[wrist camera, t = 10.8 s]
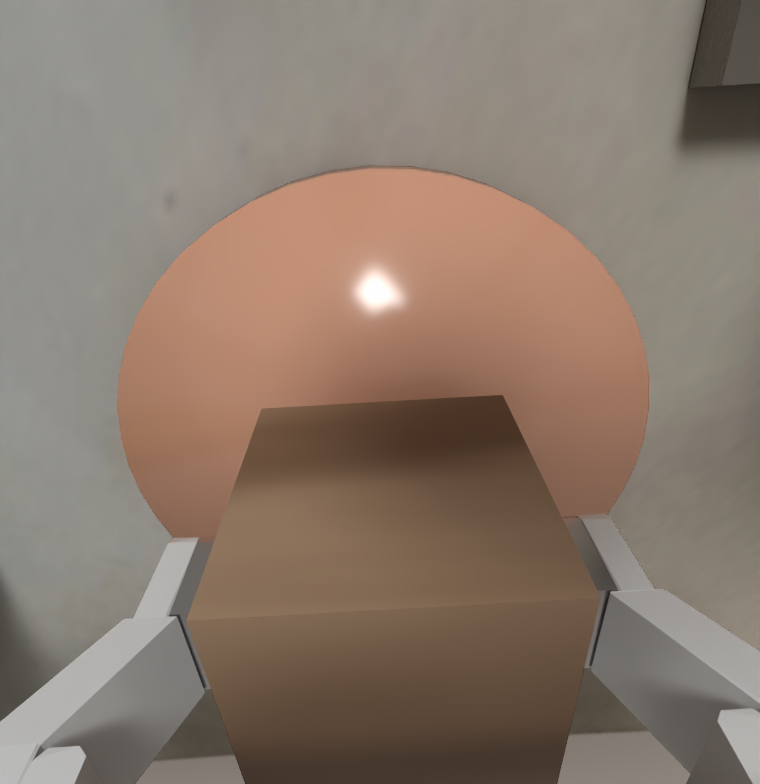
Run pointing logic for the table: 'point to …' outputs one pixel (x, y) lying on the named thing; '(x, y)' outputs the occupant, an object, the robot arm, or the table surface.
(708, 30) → the balance
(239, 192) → the table surface
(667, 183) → the table surface
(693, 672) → the robot arm
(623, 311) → the dish
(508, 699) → the block
